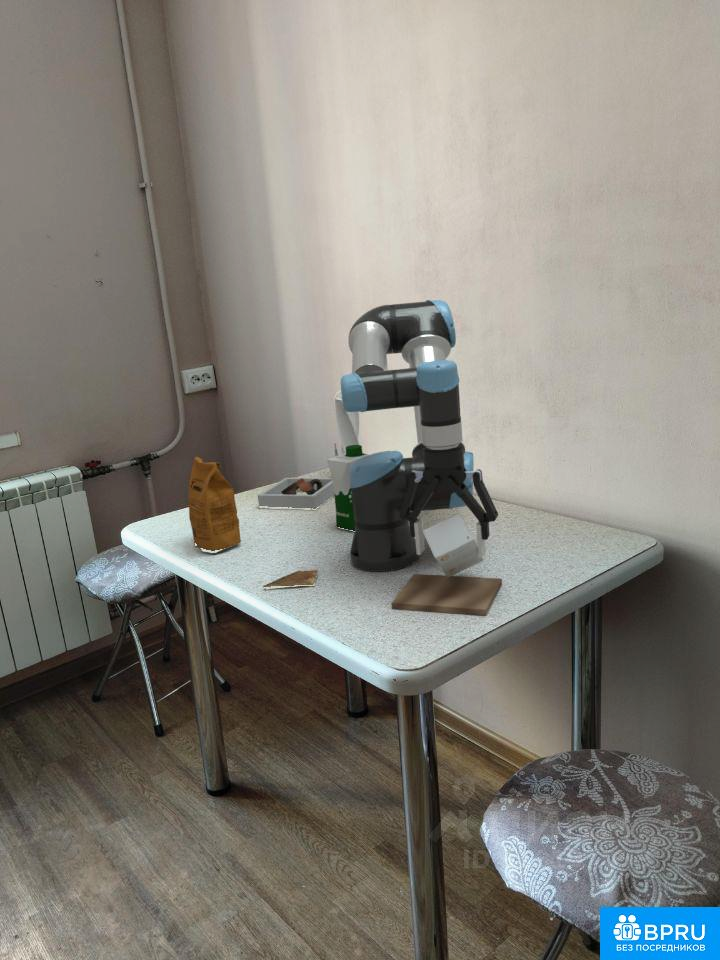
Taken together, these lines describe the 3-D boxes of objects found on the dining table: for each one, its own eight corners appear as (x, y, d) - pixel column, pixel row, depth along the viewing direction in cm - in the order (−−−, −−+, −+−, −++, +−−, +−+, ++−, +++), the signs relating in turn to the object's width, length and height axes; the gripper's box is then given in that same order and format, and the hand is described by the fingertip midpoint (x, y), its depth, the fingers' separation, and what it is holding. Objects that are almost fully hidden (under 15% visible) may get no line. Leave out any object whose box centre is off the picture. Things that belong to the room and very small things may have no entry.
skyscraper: (344, 477, 243) (334, 388, 236) (369, 477, 241) (360, 386, 233) (336, 485, 235) (325, 393, 228) (361, 485, 233) (351, 392, 226)
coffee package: (224, 534, 200) (211, 451, 194) (247, 546, 190) (234, 458, 184) (188, 545, 195) (174, 460, 189) (209, 557, 185) (194, 468, 179)
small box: (470, 534, 158) (460, 511, 147) (484, 560, 155) (474, 539, 144) (434, 551, 159) (421, 530, 147) (447, 578, 156) (435, 559, 144)
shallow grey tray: (259, 508, 219) (257, 495, 218) (287, 490, 234) (285, 477, 233) (315, 510, 212) (314, 496, 211) (340, 491, 228) (339, 478, 227)
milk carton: (380, 523, 196) (373, 446, 191) (355, 534, 190) (346, 455, 185) (356, 518, 202) (348, 443, 197) (330, 528, 196) (321, 451, 191)
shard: (263, 592, 163) (262, 584, 162) (269, 578, 170) (268, 570, 169) (314, 589, 162) (313, 581, 161) (319, 575, 169) (318, 567, 168)
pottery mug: (301, 513, 213) (285, 487, 213) (289, 520, 221) (273, 496, 221) (334, 491, 219) (318, 467, 219) (321, 499, 227) (306, 476, 227)
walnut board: (391, 608, 148) (391, 602, 147) (414, 579, 160) (414, 573, 160) (486, 615, 141) (485, 609, 140) (502, 584, 153) (501, 578, 153)
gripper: (510, 439, 145) (516, 549, 151) (389, 440, 154) (398, 544, 160) (502, 449, 138) (508, 563, 144) (375, 450, 147) (386, 557, 153)
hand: (450, 553), depth 152 cm, fingers open, 12 cm apart
